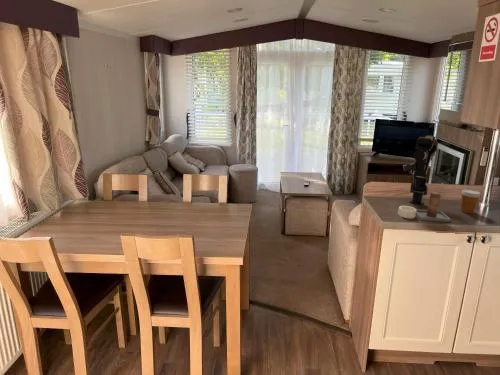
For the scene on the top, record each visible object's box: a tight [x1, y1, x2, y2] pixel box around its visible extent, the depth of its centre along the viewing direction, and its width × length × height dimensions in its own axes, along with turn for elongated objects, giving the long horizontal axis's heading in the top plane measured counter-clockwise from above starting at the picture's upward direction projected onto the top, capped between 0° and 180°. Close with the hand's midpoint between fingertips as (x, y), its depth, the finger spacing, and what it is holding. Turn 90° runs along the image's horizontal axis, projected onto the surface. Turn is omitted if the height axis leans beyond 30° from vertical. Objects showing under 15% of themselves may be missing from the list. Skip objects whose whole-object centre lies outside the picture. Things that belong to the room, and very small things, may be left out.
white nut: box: [397, 205, 418, 219], centre depth 203 cm, size 8×8×4 cm
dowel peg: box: [426, 192, 441, 217], centre depth 201 cm, size 5×5×12 cm
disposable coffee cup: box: [460, 188, 481, 214], centre depth 212 cm, size 10×10×12 cm
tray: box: [415, 208, 451, 223], centre depth 203 cm, size 12×15×2 cm
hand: (415, 187), depth 210 cm, fingers open, 9 cm apart
